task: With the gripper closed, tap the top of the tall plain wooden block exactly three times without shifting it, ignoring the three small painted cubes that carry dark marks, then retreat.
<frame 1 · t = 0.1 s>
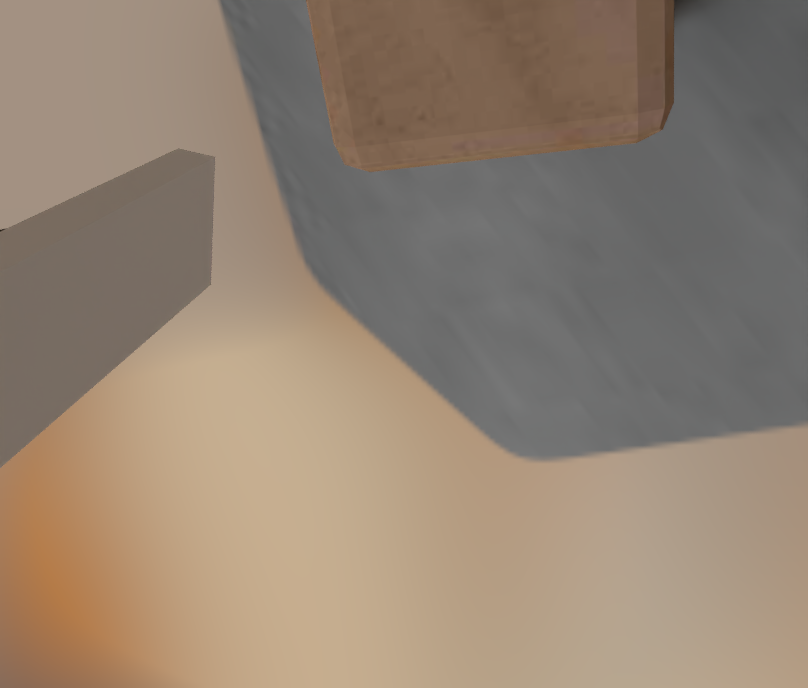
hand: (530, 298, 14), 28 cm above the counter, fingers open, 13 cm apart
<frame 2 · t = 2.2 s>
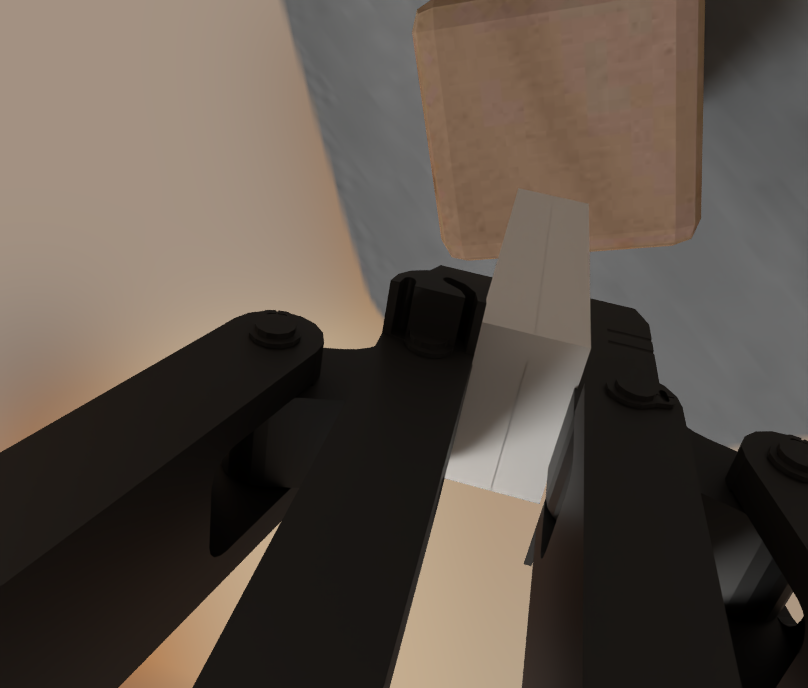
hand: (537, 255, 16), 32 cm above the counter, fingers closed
wooden block: (569, 61, 44), on the counter
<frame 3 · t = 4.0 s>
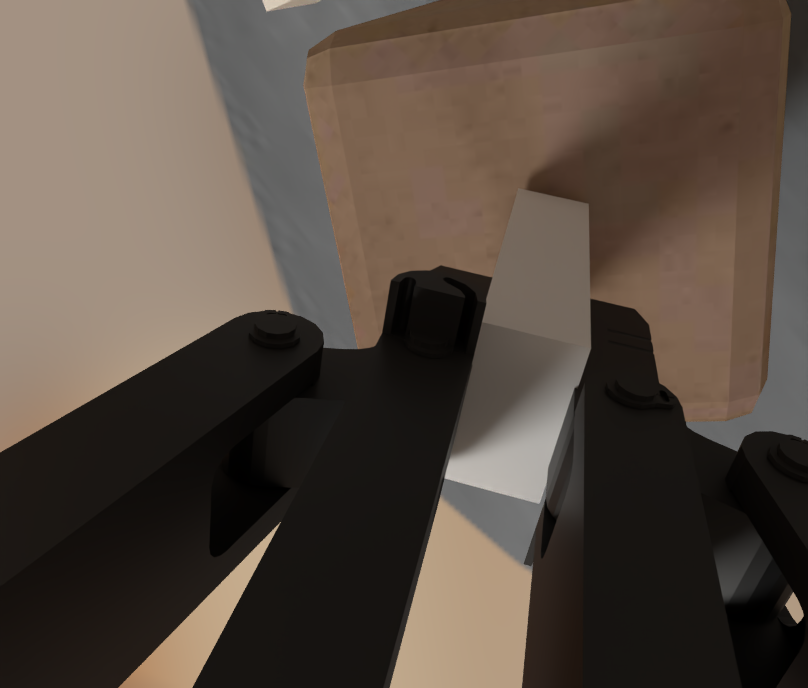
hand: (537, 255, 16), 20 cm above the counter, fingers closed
wooden block: (562, 98, 34), on the counter, touching gripper
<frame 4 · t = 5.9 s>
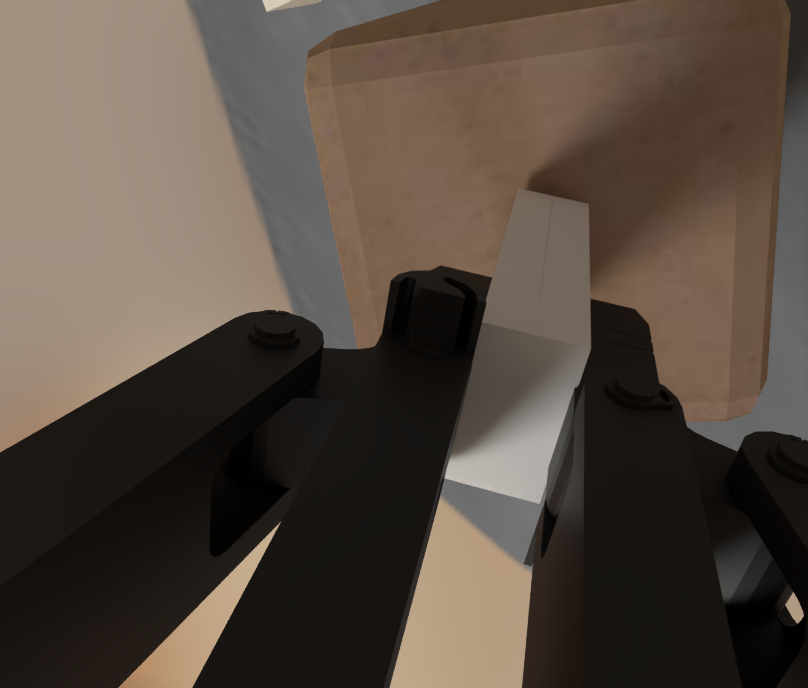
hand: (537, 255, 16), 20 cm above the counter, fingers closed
wooden block: (562, 98, 34), on the counter
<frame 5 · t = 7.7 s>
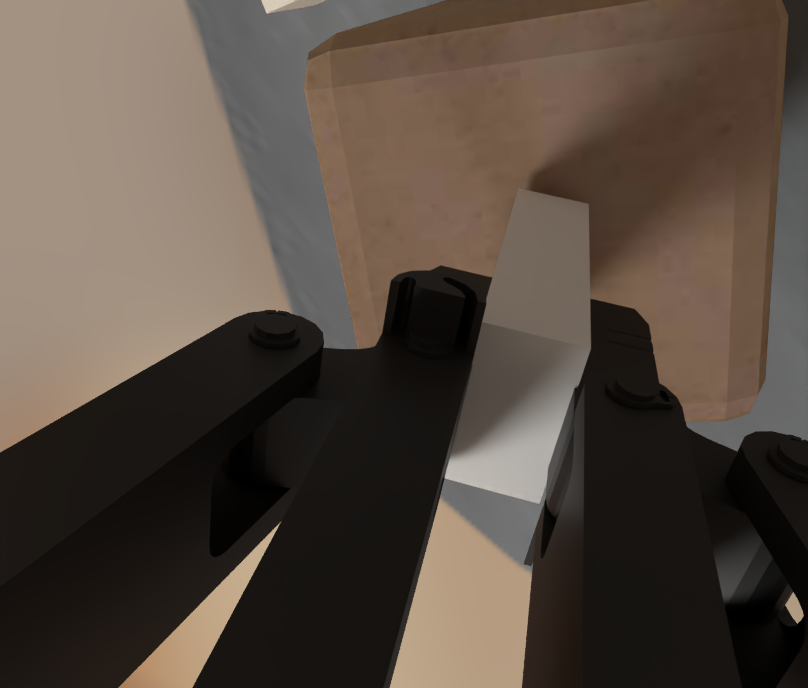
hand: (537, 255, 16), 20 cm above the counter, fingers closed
wooden block: (562, 99, 34), on the counter
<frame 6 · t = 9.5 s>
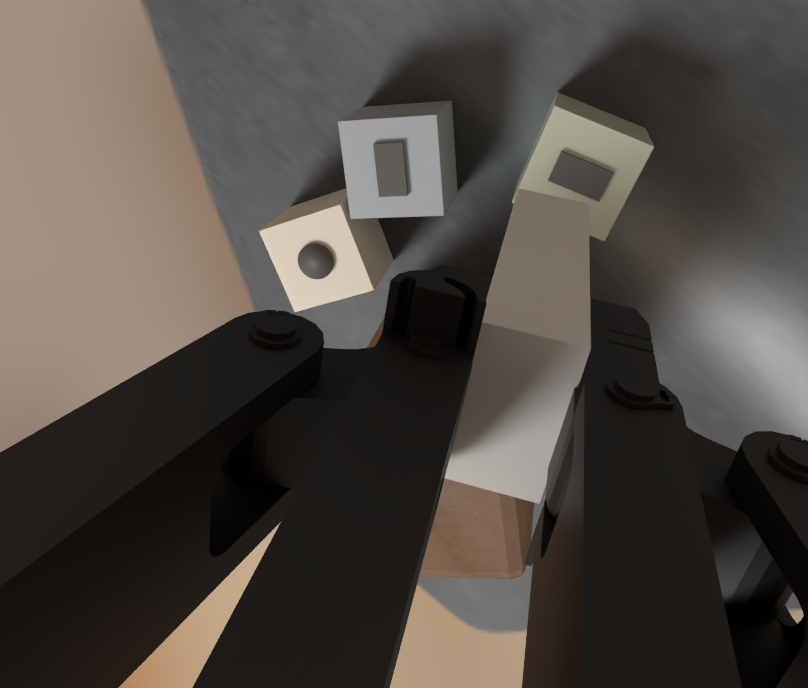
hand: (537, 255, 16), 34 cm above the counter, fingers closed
marked cube sage: (579, 154, 48), on the counter
marked cube slate: (411, 149, 50), on the counter
marked cube cream: (342, 233, 53), on the counter
wooden block: (472, 340, 55), on the counter
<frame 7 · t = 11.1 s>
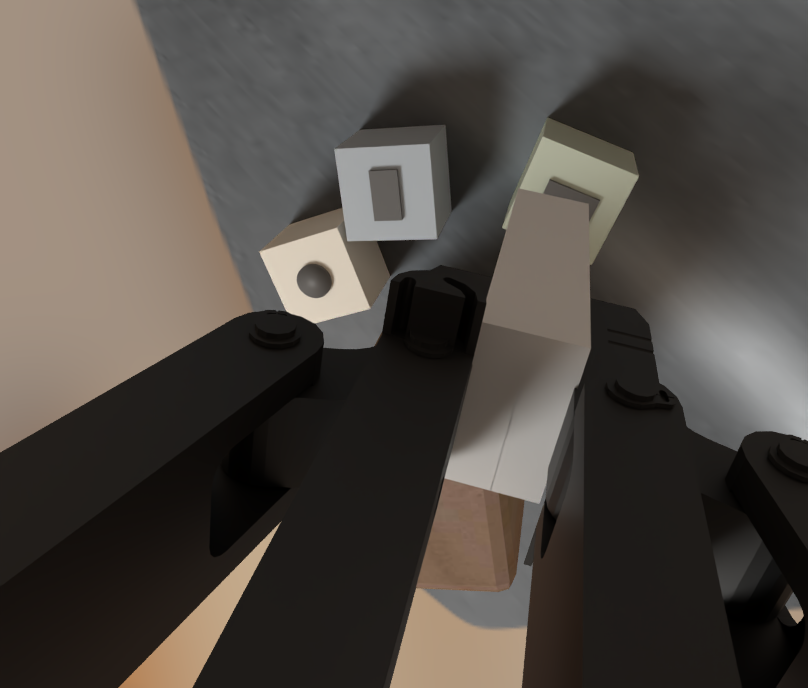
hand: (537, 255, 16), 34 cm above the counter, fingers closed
marked cube sage: (569, 177, 49), on the counter
marked cube slate: (406, 170, 51), on the counter
marked cube cream: (340, 249, 55), on the counter
wooden block: (467, 352, 57), on the counter
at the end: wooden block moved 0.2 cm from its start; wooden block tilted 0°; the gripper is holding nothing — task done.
